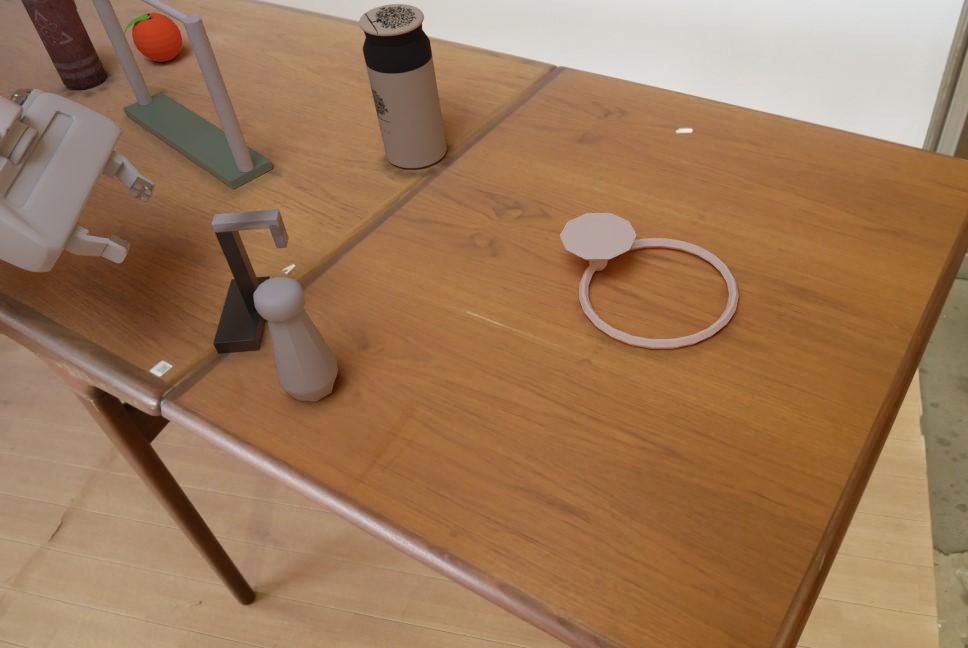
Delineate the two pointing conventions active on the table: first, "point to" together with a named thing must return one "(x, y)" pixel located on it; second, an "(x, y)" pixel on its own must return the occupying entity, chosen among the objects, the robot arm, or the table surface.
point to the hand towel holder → (615, 236)
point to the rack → (176, 122)
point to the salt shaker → (295, 341)
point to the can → (66, 42)
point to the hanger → (243, 278)
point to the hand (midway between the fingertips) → (139, 222)
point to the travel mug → (403, 85)
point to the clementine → (156, 36)
